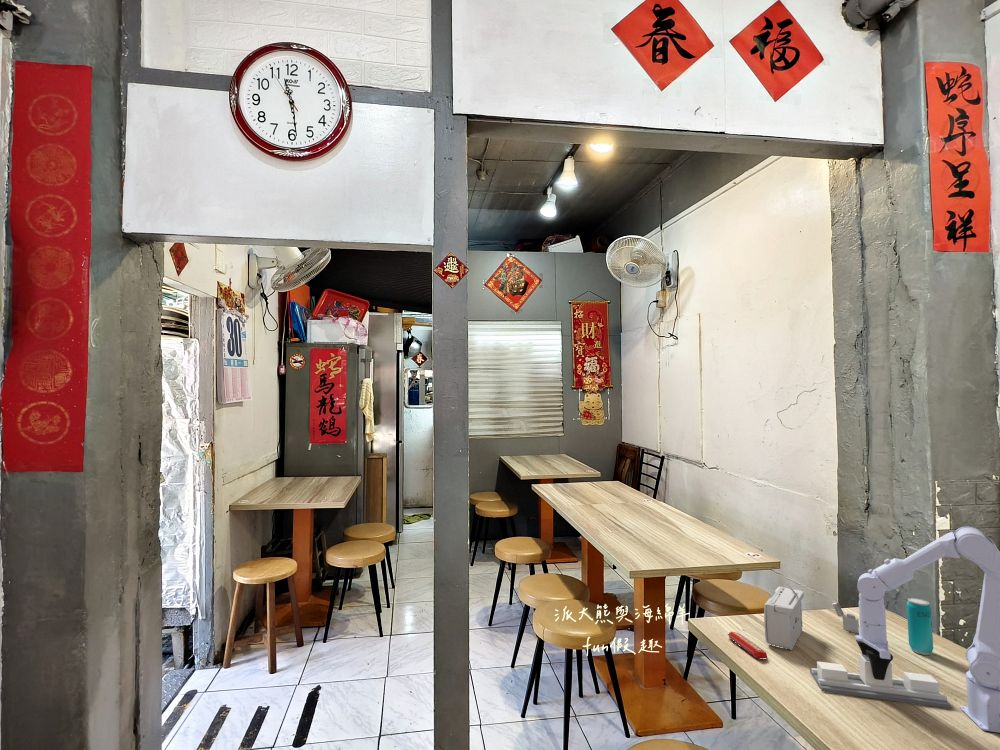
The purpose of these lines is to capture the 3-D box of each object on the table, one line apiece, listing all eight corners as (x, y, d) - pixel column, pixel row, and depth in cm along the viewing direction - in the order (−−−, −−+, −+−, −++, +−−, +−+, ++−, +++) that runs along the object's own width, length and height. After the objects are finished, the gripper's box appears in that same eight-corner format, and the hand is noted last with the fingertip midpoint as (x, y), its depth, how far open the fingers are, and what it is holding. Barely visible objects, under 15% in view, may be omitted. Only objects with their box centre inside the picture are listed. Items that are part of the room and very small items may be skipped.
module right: (939, 697, 128) (938, 682, 128) (911, 693, 130) (910, 679, 130) (930, 688, 132) (930, 675, 132) (903, 685, 134) (902, 671, 134)
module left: (848, 685, 134) (847, 671, 134) (822, 682, 135) (821, 668, 136) (842, 677, 138) (841, 664, 138) (817, 674, 139) (816, 661, 140)
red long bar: (770, 662, 149) (769, 651, 149) (758, 663, 148) (758, 652, 148) (736, 638, 165) (736, 628, 165) (726, 638, 164) (725, 629, 164)
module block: (892, 688, 131) (891, 663, 131) (865, 685, 133) (864, 660, 133) (885, 680, 135) (884, 656, 135) (859, 677, 137) (858, 653, 137)
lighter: (859, 632, 168) (858, 607, 169) (857, 633, 167) (856, 608, 167) (834, 624, 174) (833, 600, 174) (833, 626, 173) (831, 602, 173)
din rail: (951, 708, 125) (950, 700, 125) (821, 691, 133) (821, 683, 133) (929, 687, 135) (929, 679, 135) (810, 672, 142) (809, 665, 143)
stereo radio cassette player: (778, 624, 174) (776, 564, 176) (806, 630, 169) (803, 569, 171) (764, 646, 158) (761, 580, 160) (794, 654, 153) (791, 586, 154)
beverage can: (938, 657, 151) (935, 605, 152) (916, 655, 152) (913, 603, 153) (926, 648, 157) (923, 598, 158) (905, 646, 158) (902, 596, 159)
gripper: (845, 609, 143) (847, 659, 142) (866, 631, 129) (868, 686, 128) (874, 612, 141) (876, 662, 140) (899, 634, 127) (902, 690, 126)
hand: (875, 674), depth 134 cm, fingers closed on module block, 4 cm apart
